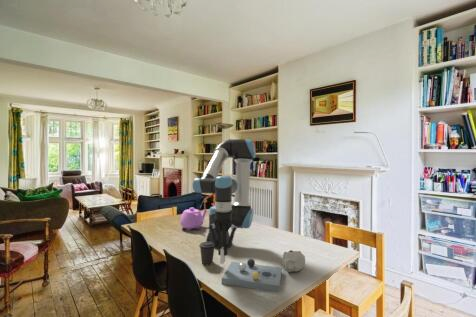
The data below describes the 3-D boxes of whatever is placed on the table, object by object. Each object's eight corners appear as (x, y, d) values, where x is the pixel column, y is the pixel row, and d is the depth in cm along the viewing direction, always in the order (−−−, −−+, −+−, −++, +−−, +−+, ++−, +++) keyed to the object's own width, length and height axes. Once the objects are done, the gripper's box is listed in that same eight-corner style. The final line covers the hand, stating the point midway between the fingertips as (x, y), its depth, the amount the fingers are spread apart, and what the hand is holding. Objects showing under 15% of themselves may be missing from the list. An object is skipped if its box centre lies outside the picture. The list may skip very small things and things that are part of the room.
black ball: (246, 267, 112) (246, 260, 112) (248, 264, 115) (248, 256, 115) (254, 268, 111) (254, 260, 111) (255, 265, 115) (255, 257, 115)
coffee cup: (217, 260, 125) (217, 240, 125) (212, 267, 117) (212, 246, 117) (202, 258, 127) (202, 239, 127) (196, 265, 119) (196, 245, 119)
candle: (286, 275, 109) (278, 264, 124) (310, 274, 110) (299, 263, 125) (285, 255, 110) (277, 246, 125) (309, 254, 111) (299, 245, 126)
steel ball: (237, 272, 107) (237, 264, 107) (239, 268, 111) (239, 261, 111) (245, 273, 107) (245, 265, 107) (246, 269, 110) (246, 262, 110)
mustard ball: (251, 280, 101) (251, 273, 101) (252, 277, 104) (252, 270, 103) (258, 281, 100) (258, 274, 100) (259, 277, 103) (259, 270, 103)
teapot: (213, 229, 176) (213, 208, 176) (187, 234, 165) (187, 212, 165) (201, 222, 192) (201, 203, 192) (177, 227, 181) (177, 206, 181)
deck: (221, 283, 103) (221, 277, 103) (231, 266, 118) (231, 261, 118) (279, 291, 97) (279, 285, 97) (281, 272, 113) (281, 267, 112)
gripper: (206, 211, 108) (206, 264, 108) (235, 213, 105) (234, 267, 105) (212, 207, 116) (211, 257, 116) (239, 209, 112) (238, 260, 113)
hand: (222, 262), depth 110 cm, fingers closed
